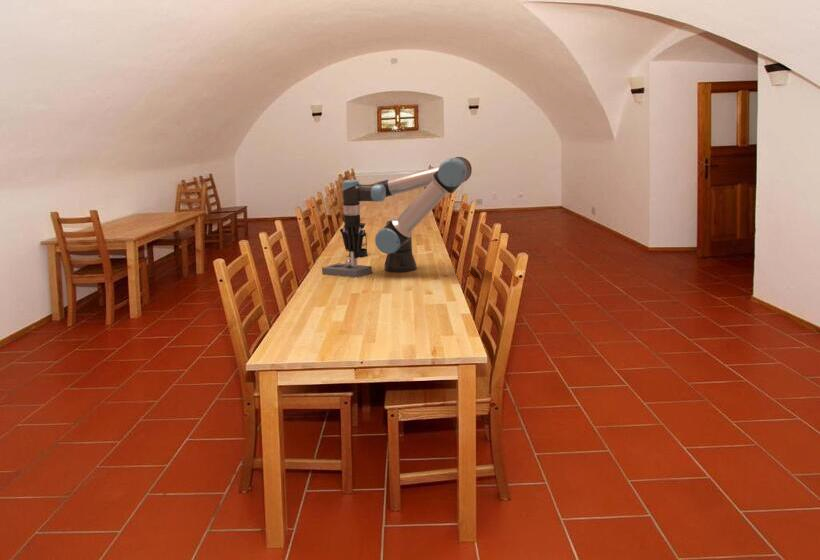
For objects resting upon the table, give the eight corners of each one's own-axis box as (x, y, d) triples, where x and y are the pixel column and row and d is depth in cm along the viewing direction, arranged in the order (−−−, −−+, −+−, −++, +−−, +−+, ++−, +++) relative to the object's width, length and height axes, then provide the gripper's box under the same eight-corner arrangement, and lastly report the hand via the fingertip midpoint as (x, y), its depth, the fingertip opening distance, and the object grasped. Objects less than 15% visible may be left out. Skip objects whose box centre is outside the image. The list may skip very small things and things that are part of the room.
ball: (355, 266, 341) (354, 258, 340) (350, 268, 338) (349, 259, 337) (348, 266, 343) (348, 257, 342) (343, 267, 340) (342, 259, 339)
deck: (372, 272, 341) (371, 266, 341) (356, 277, 331) (356, 271, 331) (338, 269, 352) (337, 263, 351) (322, 274, 342) (321, 267, 341)
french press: (368, 253, 390) (366, 210, 385) (369, 256, 381) (367, 212, 376) (346, 255, 388) (343, 212, 383) (347, 258, 379) (344, 214, 374)
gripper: (335, 214, 333) (337, 265, 339) (358, 215, 327) (360, 267, 332) (345, 212, 340) (347, 262, 345) (368, 213, 333) (370, 264, 338)
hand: (354, 265), depth 338 cm, fingers closed
